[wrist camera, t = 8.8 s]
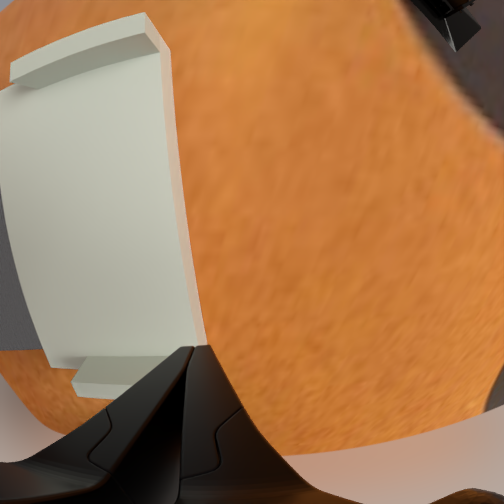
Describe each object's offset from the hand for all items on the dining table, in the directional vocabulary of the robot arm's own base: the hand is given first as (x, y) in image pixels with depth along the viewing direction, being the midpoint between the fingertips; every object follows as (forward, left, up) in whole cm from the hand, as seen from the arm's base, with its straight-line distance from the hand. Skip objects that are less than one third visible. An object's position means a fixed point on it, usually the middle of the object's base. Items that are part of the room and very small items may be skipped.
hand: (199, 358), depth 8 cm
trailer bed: (+3, +8, -12) cm, 15 cm away
